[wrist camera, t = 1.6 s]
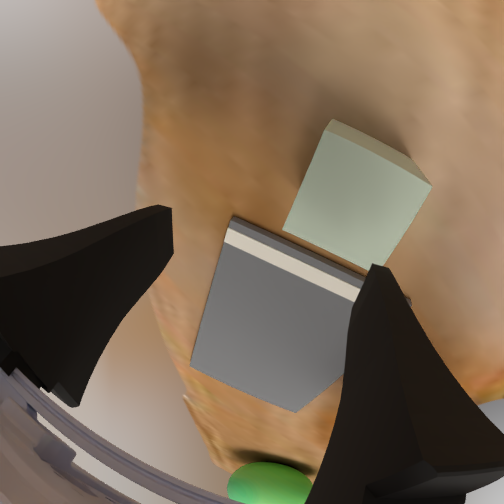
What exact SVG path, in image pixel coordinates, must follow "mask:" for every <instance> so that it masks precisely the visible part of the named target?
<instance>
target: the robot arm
mask: <svg viewBox="0 0 504 504" xmlns="http://www.w3.org/2000/svg"><path fill="white" fill-rule="evenodd" d="M173 254H174V249H173V230H172V208H170V207H166V206H162V205H154V206H150V207H146V208H143V209H139V210H136V211H133V212H131V213H128V214H125V215H122V216H119V217H116V218H113V219H111V220H108V221H105V222H102V223H99V224H96V225H93V226H90V227H87V228H85V229H81V230H78V231H75V232H72V233H68V234H64V235H61V236H57V237H53V238H49V239H44V240H39V241H34V242H30V243H23V244H17V245H9V246H0V504H141V503H139V502H137V501H135V500H133V499H131V498H129V497H127V496H125V495H124V494H122V493H120V492H118V491H117V490H115V489H113V488H112V487H110V486H108V485H107V484H105V483H103V482H102V481H100V480H99V479H97V478H95V477H94V476H92V475H91V474H89V473H88V472H86V471H85V470H83V469H82V468H80V467H79V466H78V465H76V464H75V463H73V462H72V461H73V459H74V457H75V456H76V452H75V451H74V450H73V449H72V448H70V447H69V446H68V445H67V444H66V443H65V442H63V441H62V440H61V439H60V438H58V437H57V436H56V435H55V434H53V433H52V432H51V431H50V430H48V429H47V428H46V427H45V426H43V425H42V424H41V423H40V422H39V421H38V420H37V412H38V413H39V414H40V415H41V416H42V417H43V418H45V419H46V420H47V421H48V422H49V423H50V424H52V425H53V426H54V427H55V428H56V429H57V430H59V431H60V432H61V433H62V434H63V435H65V436H66V437H67V438H68V439H70V440H71V441H72V442H74V443H75V444H76V445H78V446H79V447H80V448H82V449H83V450H85V451H86V452H87V453H89V454H90V455H92V456H93V457H94V458H96V459H97V460H99V461H100V462H102V463H104V464H105V465H106V466H108V467H110V468H111V469H113V470H114V471H116V472H118V473H119V474H121V475H123V476H124V477H126V478H128V479H130V480H131V481H133V482H135V483H137V484H139V485H141V486H143V487H145V488H146V489H148V490H150V491H152V492H154V493H156V494H158V495H160V496H162V497H165V498H166V499H169V500H171V501H173V502H175V503H178V504H245V503H242V502H238V501H235V500H232V499H229V498H226V497H223V496H220V495H217V494H214V493H211V492H208V491H206V490H203V489H201V488H198V487H196V486H193V485H191V484H188V483H186V482H184V481H181V480H179V479H177V478H175V477H173V476H170V475H168V474H166V473H164V472H162V471H160V470H158V469H156V468H154V467H152V466H150V465H148V464H145V463H144V462H142V461H140V460H139V459H137V458H135V457H133V456H131V455H130V454H128V453H126V452H125V451H123V450H121V449H119V448H118V447H116V446H115V445H113V444H111V443H110V442H108V441H107V440H105V439H103V438H102V437H100V436H99V435H97V434H96V433H95V432H93V431H92V430H90V429H89V428H87V427H86V426H84V425H83V424H82V423H80V422H79V421H77V420H76V419H75V418H74V417H72V416H71V415H70V414H68V413H67V412H66V411H65V410H63V409H62V408H61V407H59V406H58V405H57V404H56V403H55V402H53V401H52V400H51V399H50V398H49V397H48V396H46V395H45V394H44V393H43V392H42V391H41V390H40V387H42V388H43V389H44V390H46V391H47V392H48V393H50V392H52V393H53V394H54V395H55V396H57V397H58V398H59V399H60V400H62V401H63V402H64V403H65V404H67V405H68V406H69V407H72V408H73V407H78V406H79V405H80V402H81V399H82V396H83V393H84V391H85V389H86V386H87V384H88V381H89V379H90V377H91V375H92V372H93V370H94V368H95V366H96V364H97V362H98V360H99V358H100V356H101V354H102V353H103V350H104V349H105V347H106V345H107V343H108V342H109V340H110V338H111V337H112V335H113V333H114V332H115V330H116V329H117V327H118V326H119V324H120V322H121V321H122V320H123V318H124V317H125V316H126V314H127V313H128V312H129V311H130V309H131V308H132V307H133V306H134V305H135V304H136V302H137V301H138V300H139V298H140V297H141V296H142V295H143V294H144V293H145V292H146V291H147V289H148V288H149V287H150V286H151V285H152V284H153V282H154V281H155V280H156V279H157V278H158V276H159V275H160V274H161V273H162V271H163V270H164V268H165V267H166V265H167V263H168V262H169V260H170V259H171V257H172V255H173ZM36 411H37V412H36ZM503 476H504V434H503V433H502V432H501V431H500V430H499V429H498V428H497V427H496V426H495V425H494V424H493V423H492V422H491V421H490V420H489V419H488V418H487V417H486V416H485V414H484V413H483V412H482V411H481V410H480V409H479V407H478V406H477V405H476V404H475V403H474V402H473V401H472V399H471V398H470V397H469V396H468V394H467V393H466V392H465V391H464V389H463V388H462V387H461V385H460V384H459V383H458V381H457V380H456V379H455V377H454V376H453V375H452V373H451V372H450V371H449V369H448V368H447V366H446V365H445V363H444V362H443V360H442V359H441V357H440V356H439V354H438V353H437V351H436V350H435V348H434V347H433V345H432V344H431V342H430V340H429V339H428V337H427V335H426V334H425V332H424V330H423V329H422V327H421V325H420V323H419V322H418V320H417V318H416V316H415V315H414V313H413V311H412V309H411V307H410V305H409V304H408V302H407V300H406V298H405V296H404V294H403V292H402V291H401V289H400V287H399V285H398V283H397V281H396V279H395V278H394V276H393V274H392V272H391V271H390V269H389V268H387V267H383V266H380V265H377V264H373V263H372V265H371V267H370V269H369V272H368V274H367V276H366V278H365V281H364V283H363V285H362V287H361V289H360V292H359V294H358V296H357V298H356V300H355V302H354V304H353V306H352V311H351V316H350V321H349V327H348V332H347V345H346V357H345V368H344V378H343V387H342V394H341V400H340V404H339V408H338V412H337V416H336V420H335V424H334V427H333V431H332V434H331V437H330V440H329V444H328V447H327V450H326V453H325V455H324V458H323V461H322V464H321V466H320V469H319V472H318V474H317V477H316V479H315V481H314V484H313V486H312V488H311V491H310V493H309V495H308V497H307V499H306V501H305V503H304V504H464V503H465V500H466V493H469V492H472V491H474V490H476V489H479V488H481V487H484V486H486V485H488V484H490V483H492V482H494V481H497V480H498V479H500V478H501V477H503Z"/></svg>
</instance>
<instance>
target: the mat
mask: <svg viewBox="0 0 504 504" xmlns="http://www.w3.org/2000/svg"><path fill="white" fill-rule="evenodd" d="M365 278H366V277H364V276H361V275H359V274H357V273H355V272H353V271H351V270H349V269H347V268H345V267H343V266H341V265H339V264H337V263H334V262H332V261H330V260H328V259H326V258H324V257H322V256H320V255H318V254H315V253H313V252H311V251H309V250H307V249H305V248H303V247H301V246H298V245H296V244H294V243H292V242H290V241H288V240H285V239H283V238H281V237H279V236H277V235H275V234H272V233H270V232H268V231H266V230H264V229H261V228H259V227H257V226H255V225H253V224H250V223H248V222H246V221H244V220H241V219H239V218H237V217H235V216H234V217H233V218H232V219H231V221H230V224H229V227H228V229H227V233H226V236H225V239H224V244H223V247H222V251H221V254H220V258H219V261H218V264H217V268H216V271H215V275H214V278H213V282H212V285H211V289H210V292H209V296H208V300H207V303H206V307H205V310H204V314H203V318H202V321H201V325H200V329H199V332H198V336H197V340H196V343H195V347H194V351H193V355H192V359H191V362H190V367H192V368H194V369H196V370H198V371H200V372H202V373H204V374H206V375H208V376H210V377H212V378H214V379H216V380H219V381H221V382H223V383H225V384H227V385H229V386H231V387H234V388H236V389H238V390H240V391H242V392H245V393H247V394H249V395H252V396H254V397H256V398H259V399H261V400H264V401H266V402H269V403H271V404H274V405H276V406H279V407H281V408H284V409H286V410H289V411H292V412H295V413H296V412H298V411H299V410H300V409H301V408H303V407H304V406H305V405H307V404H308V403H309V402H310V401H312V400H313V399H314V398H315V397H317V396H318V395H319V394H320V393H322V392H323V391H324V390H325V389H326V388H328V387H329V386H330V385H331V384H332V383H334V382H335V381H336V380H337V379H338V378H339V377H340V376H342V375H343V374H344V368H345V357H346V345H347V332H348V327H349V321H350V316H351V311H352V306H353V304H354V302H355V300H356V298H357V296H358V294H359V292H360V289H361V287H362V285H363V283H364V281H365ZM405 298H406V297H405ZM406 300H407V302H408V304H409V305H410V307H411V306H412V304H411V300H410V299H408V298H406Z"/></svg>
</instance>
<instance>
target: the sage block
mask: <svg viewBox="0 0 504 504" xmlns="http://www.w3.org/2000/svg"><path fill="white" fill-rule="evenodd" d="M431 189H432V185H431V184H430V182H429V181H428V180H427V178H426V177H425V176H424V174H423V173H422V172H421V170H420V169H419V168H418V166H417V165H416V164H415V163H414V161H413V160H412V159H411V158H409V157H408V156H406V155H404V154H402V153H401V152H399V151H397V150H395V149H393V148H392V147H390V146H388V145H386V144H384V143H382V142H380V141H379V140H377V139H375V138H373V137H371V136H369V135H367V134H365V133H363V132H361V131H359V130H357V129H355V128H352V127H350V126H348V125H346V124H344V123H342V122H339V121H337V120H335V119H333V118H332V120H331V121H330V122H329V124H328V125H327V127H326V128H325V129H324V132H323V134H322V137H321V139H320V141H319V144H318V146H317V149H316V151H315V154H314V156H313V158H312V161H311V163H310V166H309V168H308V170H307V173H306V175H305V177H304V180H303V182H302V185H301V187H300V189H299V192H298V194H297V196H296V199H295V201H294V203H293V206H292V208H291V210H290V213H289V215H288V217H287V220H286V222H285V224H284V227H283V229H282V230H284V231H286V232H288V233H291V234H293V235H295V236H297V237H299V238H301V239H303V240H306V241H308V242H310V243H312V244H314V245H316V246H318V247H320V248H323V249H325V250H327V251H329V252H331V253H333V254H335V255H337V256H339V257H341V258H343V259H346V260H348V261H350V262H352V263H354V264H356V265H358V266H360V267H362V268H364V269H366V270H368V271H369V269H370V267H371V265H372V263H373V264H377V265H380V266H383V265H384V263H385V262H386V260H387V259H388V257H389V256H390V255H391V253H392V252H393V250H394V249H395V247H396V246H397V244H398V243H399V241H400V240H401V238H402V236H403V235H404V233H405V232H406V230H407V229H408V227H409V226H410V224H411V222H412V221H413V219H414V218H415V216H416V214H417V213H418V211H419V209H420V208H421V206H422V204H423V203H424V201H425V199H426V197H427V196H428V194H429V192H430V190H431Z"/></svg>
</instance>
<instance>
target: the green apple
mask: <svg viewBox="0 0 504 504" xmlns="http://www.w3.org/2000/svg"><path fill="white" fill-rule="evenodd" d="M312 486H313V484H312V483H311V481H310V480H309V479H308V478H307V477H306V476H305V475H304V474H303V473H301V472H300V471H298V470H296V469H294V468H291V467H289V466H286V465H282V464H278V463H272V462H254V463H249V464H246V465H244V466H242V467H240V468H239V469H237V470H236V471H235V472H234V473H233V474H232V476H231V477H230V479H229V482H228V486H227V491H228V496H229V498H230V499H232V500H235V501H238V502H242V503H245V504H304V503H305V501H306V499H307V497H308V495H309V493H310V491H311V488H312Z"/></svg>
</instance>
